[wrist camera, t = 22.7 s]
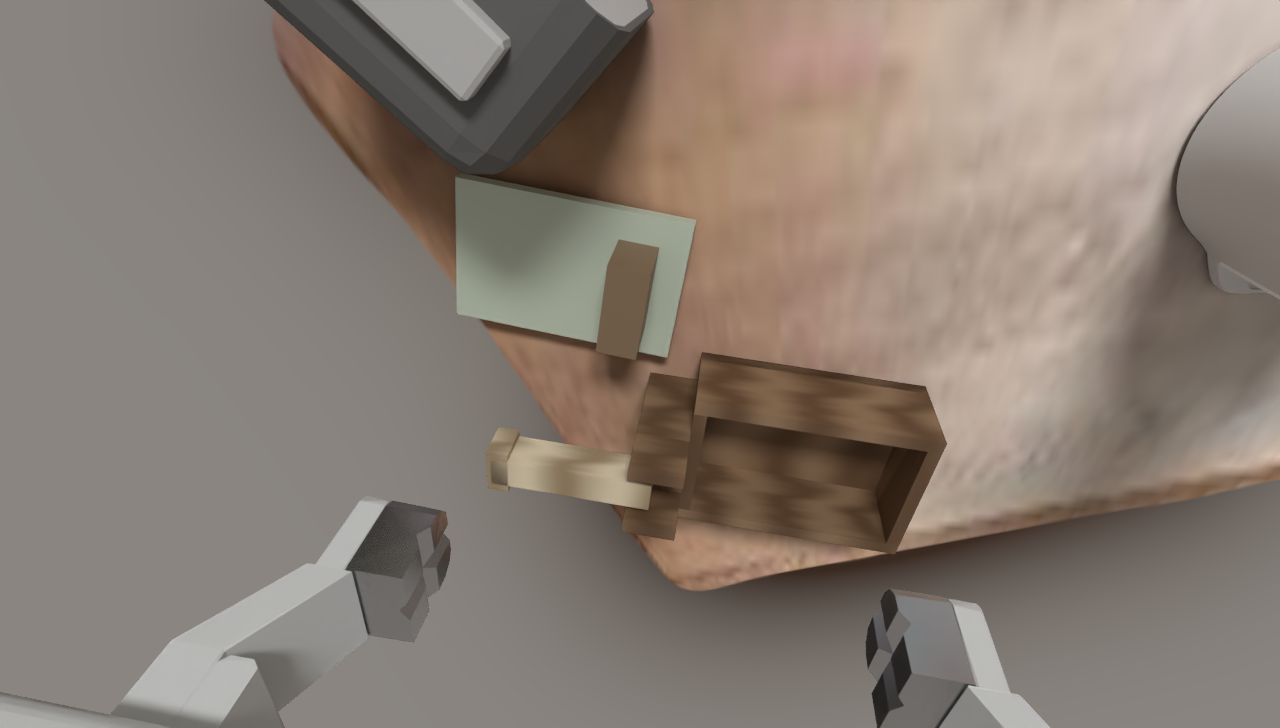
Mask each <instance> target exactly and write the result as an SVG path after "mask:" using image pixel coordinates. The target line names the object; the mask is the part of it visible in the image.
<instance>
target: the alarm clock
mask: <svg viewBox="0 0 1280 728" xmlns="http://www.w3.org/2000/svg"><path fill="white" fill-rule="evenodd" d="M265 1H266V2H267V3H268V4H269V5H270V6H271V7H272V8H273V9H275V10H276V11H277V12H278V13H279V14H280V15H281V16H282V17H284V18H285V19H286V20H287V21H288V22H289V23H290V24H291V25H292V26H294V27H295V28H296V29H297V30H298V31H299V32H300V33H301V34H303V35H304V36H305V37H306V38H307V39H308V40H309V41H310V42H312V43H313V44H314V45H315V46H316V47H317V48H318V49H319V50H320V51H322V52H323V53H324V54H325V55H326V56H327V57H328V58H329V59H331V60H332V61H333V62H334V63H335V64H336V65H337V66H338V67H339V68H341V69H342V70H343V71H344V72H345V73H346V74H347V75H348V76H350V77H351V78H352V79H353V80H354V81H355V82H356V83H357V84H359V85H360V86H361V87H362V88H363V89H364V90H365V91H366V92H367V93H369V94H370V95H371V96H372V97H373V98H374V99H375V100H376V101H378V102H379V103H380V104H381V105H382V106H383V107H384V108H385V109H386V110H388V111H389V112H390V113H391V114H392V115H393V116H394V117H395V118H397V119H398V120H399V121H400V122H401V123H402V124H403V125H404V126H406V127H407V128H408V129H409V130H410V131H411V132H412V133H413V134H414V135H416V136H417V137H418V138H419V139H420V140H421V141H422V142H423V143H425V144H426V145H427V146H428V147H429V148H430V149H431V150H432V151H433V152H435V153H436V154H437V155H438V156H439V157H440V158H441V159H442V160H444V161H445V162H447V163H449V164H450V165H452V166H454V167H456V168H457V169H459V170H461V171H462V172H464V173H466V174H497V173H502V172H503V171H505V170H506V169H508V168H510V167H511V166H513V165H514V164H516V163H517V162H519V161H521V160H522V159H523V158H524V157H525V156H526V155H527V154H528V153H529V152H530V151H531V150H532V149H533V148H534V147H535V146H536V145H537V144H538V143H539V142H540V141H541V140H542V139H543V138H544V137H545V136H546V135H547V134H548V133H549V132H550V131H551V130H552V129H553V128H555V127H556V126H557V125H558V124H559V123H560V122H561V121H562V120H563V118H564V117H565V116H566V115H567V114H568V113H569V111H570V110H571V109H572V108H573V107H574V105H575V104H576V103H577V102H578V101H579V100H580V98H581V97H582V96H583V95H584V94H585V93H586V91H587V90H588V89H589V88H590V87H591V85H592V84H593V83H594V82H595V81H596V80H597V78H598V77H599V76H600V75H601V74H602V73H603V71H604V70H605V69H606V68H607V67H608V66H609V64H610V63H611V62H612V61H613V60H614V58H615V57H616V56H617V55H618V54H619V53H620V51H621V50H622V49H623V48H624V47H625V46H626V44H627V43H628V42H629V41H630V40H631V38H632V37H633V36H634V35H635V34H636V33H637V31H638V30H639V29H640V28H641V27H642V26H643V24H644V23H645V22H646V21H647V20H648V18H649V17H650V16H651V15H652V14H653V13H654V10H653V5H652V3H651V2H650V0H265Z"/></svg>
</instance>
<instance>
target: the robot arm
mask: <svg viewBox="0 0 1280 728" xmlns="http://www.w3.org/2000/svg"><path fill="white" fill-rule="evenodd" d="M1177 202H1178V207H1179V211H1180V214H1181V217H1182V219H1183V221H1184V223H1185V225H1186V226H1187V228H1188V229H1189V231H1190V232H1191V233H1192V234H1193V236H1194V237H1195V238H1196V239H1197V240H1198V241H1199V242H1200V243H1201V244H1202V246H1203V247H1204V249H1205V251H1206V252H1207V258H1208V269H1209V275H1210V278H1211V281H1212V283H1213V284H1214V285H1215V286H1216V287H1218V288H1220V289H1221V290H1223V291H1225V292H1227V293H1231V294H1254V293H1269V294H1270V295H1272V296H1274V297H1276V298H1277V299H1279V300H1280V48H1278V49H1277V50H1275V51H1274V52H1272V53H1271V54H1269V55H1268V56H1266V57H1265V58H1263V59H1262V60H1261V61H1259V62H1258V63H1257V64H1255V65H1254V66H1253V67H1251V68H1250V69H1249V70H1248V71H1246V72H1245V73H1244V74H1243V75H1242V76H1241V77H1239V78H1238V79H1237V80H1236V81H1235V82H1234V83H1233V84H1232V85H1231V86H1230V87H1229V88H1228V89H1227V90H1226V91H1225V92H1224V93H1223V94H1222V95H1221V96H1220V97H1219V98H1218V100H1217V101H1216V102H1215V103H1214V104H1213V105H1212V107H1211V108H1210V109H1209V111H1208V112H1207V113H1206V115H1205V116H1204V117H1203V119H1202V120H1201V122H1200V123H1199V125H1198V126H1197V128H1196V130H1195V131H1194V133H1193V135H1192V137H1191V139H1190V141H1189V143H1188V145H1187V147H1186V150H1185V152H1184V155H1183V157H1182V160H1181V164H1180V167H1179V172H1178V178H1177ZM447 525H448V521H447V516H446V512H445V511H440V510H436V509H431V508H426V507H421V506H416V505H411V504H407V503H401V502H396V501H391V500H386V499H380V498H375V497H370V496H366V497H365V498H363V499H362V500H361V501H360V502H358V503H357V505H356V507H355V508H354V509H353V511H352V512H351V513H350V515H349V516H348V518H347V519H346V521H345V522H344V524H343V525H342V526H341V528H340V529H339V531H338V532H337V534H336V535H335V536H334V538H333V539H332V541H331V542H330V544H329V545H328V547H327V548H326V549H325V551H324V552H323V554H322V555H321V556H320V558H319V559H318V561H317V562H316V564H309V563H307V564H305V565H303V566H301V567H300V568H298V569H296V570H294V571H293V572H291V573H289V574H287V575H286V576H284V577H282V578H280V579H279V580H277V581H275V582H273V583H272V584H270V585H268V586H266V587H265V588H263V589H261V590H259V591H257V592H256V593H254V594H252V595H251V596H249V597H247V598H245V599H243V600H242V601H240V602H238V603H236V604H235V605H233V606H231V607H229V608H228V609H226V610H224V611H222V612H221V613H219V614H217V615H215V616H214V617H212V618H210V619H208V620H206V621H205V622H203V623H201V624H199V625H198V626H196V627H194V628H193V629H191V630H189V631H187V632H185V633H184V634H182V635H180V636H178V637H177V638H175V639H173V640H172V641H170V643H169V644H168V645H167V646H166V648H165V649H164V650H163V651H162V652H161V654H160V655H159V656H158V657H157V658H156V660H155V661H154V662H153V663H152V665H151V666H150V667H149V668H148V670H147V671H146V672H145V673H144V674H143V675H142V677H141V678H140V679H139V680H138V681H137V683H136V684H135V685H134V686H133V687H132V689H131V690H130V691H129V692H128V694H127V695H126V696H125V697H124V698H123V700H122V701H121V702H120V703H119V705H118V706H117V707H116V708H115V709H114V710H113V712H112V713H111V714H110V715H109V714H104V713H99V712H94V711H89V710H84V709H80V708H74V707H70V706H65V705H60V704H55V703H51V702H46V701H41V700H36V699H32V698H27V697H22V696H17V695H12V694H7V693H3V692H0V728H285V727H284V725H283V722H282V720H281V718H280V716H279V713H278V711H280V710H281V709H282V708H283V707H284V706H286V705H287V704H288V703H289V702H291V701H292V700H293V699H294V698H295V697H297V696H298V695H299V694H300V693H301V692H303V691H304V690H305V689H307V688H308V687H309V686H310V685H311V684H313V683H314V682H315V681H316V680H317V679H319V678H320V677H321V676H322V675H324V674H325V673H326V672H327V671H329V670H330V669H331V668H332V667H333V666H335V665H336V664H337V663H338V662H340V661H341V660H342V659H343V658H345V657H346V656H347V655H348V654H349V653H351V652H352V651H353V650H354V649H356V648H357V647H358V646H359V645H361V644H362V643H363V642H364V641H365V640H366V639H368V635H371V636H377V637H383V638H389V639H395V640H401V641H408V642H414V641H415V639H416V637H417V635H418V633H419V631H420V628H421V627H422V624H423V623H424V620H425V618H426V616H427V614H428V612H429V605H428V597H429V596H431V595H432V594H434V593H435V592H437V591H438V590H439V589H440V587H441V585H442V582H443V580H444V578H445V575H446V572H447V568H448V565H449V561H450V552H451V548H450V540H449V539H448V538H447V537H446V536H445V534H443V533H444V531H445V529H446V527H447ZM880 602H881V607H882V612H880V613H878V614H876V615H874V616H873V617H872V619H871V622H870V624H869V627H868V631H867V637H866V659H867V666H868V670H869V671H870V673H871V674H872V675H873V676H874V678H875V679H876V680H877V681H878V682H877V684H876V686H875V688H874V690H873V692H872V699H873V705H874V711H875V717H876V724H877V728H1050V727H1049V726H1048V725H1047V724H1046V723H1045V722H1044V721H1043V719H1041V717H1040V716H1039V715H1038V714H1037V713H1036V712H1035V711H1034V710H1033V709H1032V708H1031V707H1030V706H1029V705H1028V703H1027V702H1026V701H1025V700H1024V699H1023V698H1022V697H1021V696H1020V695H1017V694H1013V693H1010V690H1009V687H1008V684H1007V681H1006V678H1005V676H1004V672H1003V669H1002V666H1001V664H1000V661H999V658H998V655H997V652H996V649H995V647H994V643H993V640H992V638H991V635H990V632H989V629H988V626H987V623H986V620H985V617H984V614H983V612H982V609H981V608H980V607H979V606H978V604H975V603H969V602H964V601H958V600H953V599H945V598H944V597H938V596H932V595H926V594H920V593H914V592H907V591H902V590H895V589H888V590H887V591H886V592H885V593H884V595H883V596H882V598H881V601H880Z"/></svg>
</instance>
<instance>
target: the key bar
mask: <svg viewBox="0 0 1280 728" xmlns="http://www.w3.org/2000/svg"><path fill="white" fill-rule="evenodd" d="M630 459H631V455H629V454H623V453H617V452H611V451H605V450H599V449H593V448H587V447H581V446H575V445H569V444H562V443H556V442H550V441H545V440H539V439H532V438H526V437H520V436H519V430H514V429H508V428H502V427H499V428H498V430H497V432H496V434H495V436H494V438H493V440H492V442H491V444H490V446H489V448H488V449H487V451H486V464H487V481H488V488H490V489H496V490H502V491H507V492H508V491H509V489H510V487H517V488H522V489H528V490H534V491H540V492H546V493H551V494H558V495H563V496H569V497H575V498H581V499H587V500H592V501H598V502H604V503H610V504H615V505H621V506H627V507H633V508H639V509H644V510H648V509H649V504H650V498H651V493H652V487H653V484H649V483H643V482H637V481H631V480H627V474H628V467H629V463H630Z"/></svg>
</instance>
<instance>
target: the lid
mask: <svg viewBox="0 0 1280 728" xmlns="http://www.w3.org/2000/svg"><path fill="white" fill-rule="evenodd" d="M455 201H456V278H457V314H460V315H465V316H469V317H474V318H479V319H484V320H488V321H493V322H498V323H503V324H508V325H512V326H517V327H522V328H527V329H532V330H536V331H541V332H546V333H551V334H556V335H560V336H565V337H570V338H575V339H580V340H584V341H589V342H594V343H597V345H596V352H599V353H603V354H608V355H613V356H618V357H623V358H627V359H632V360H636V358H637V354H638V352H642V353H647V354H652V355H656V356H661V357H666V358H667V356H668V351H669V347H670V342H671V337H672V333H673V328H674V323H675V318H676V314H677V309H678V304H679V299H680V295H681V290H682V285H683V280H684V276H685V271H686V266H687V261H688V257H689V252H690V247H691V242H692V238H693V233H694V228H695V223H696V220H694V219H689V218H684V217H679V216H674V215H669V214H664V213H659V212H654V211H649V210H644V209H639V208H634V207H629V206H624V205H619V204H614V203H609V202H604V201H599V200H594V199H589V198H584V197H579V196H574V195H569V194H564V193H559V192H554V191H549V190H544V189H539V188H534V187H529V186H524V185H519V184H514V183H509V182H504V181H499V180H494V179H489V178H484V177H479V176H474V175H469V174H464V173H460V174H458V175H457V176H456V177H455Z"/></svg>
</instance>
